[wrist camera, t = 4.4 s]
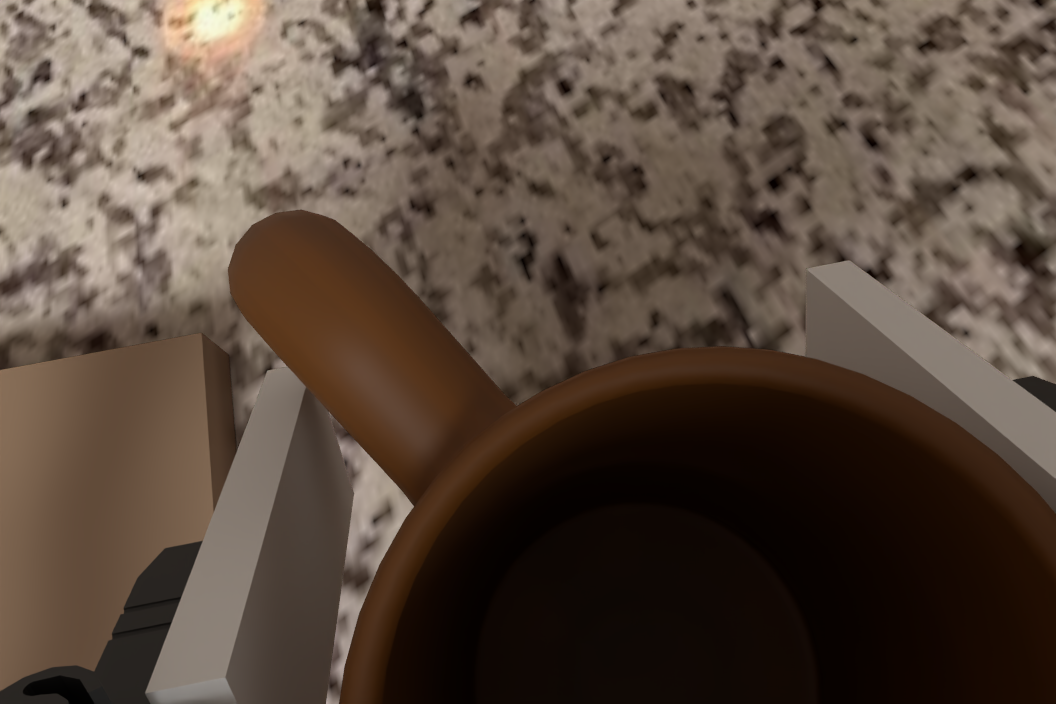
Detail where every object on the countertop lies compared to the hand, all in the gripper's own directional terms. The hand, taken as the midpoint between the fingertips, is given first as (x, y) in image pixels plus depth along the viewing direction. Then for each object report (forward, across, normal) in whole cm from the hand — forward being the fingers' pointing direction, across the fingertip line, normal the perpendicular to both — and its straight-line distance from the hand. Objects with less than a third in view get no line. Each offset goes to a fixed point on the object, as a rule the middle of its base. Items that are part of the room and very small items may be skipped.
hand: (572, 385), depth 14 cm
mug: (0, -1, -5) cm, 5 cm away
